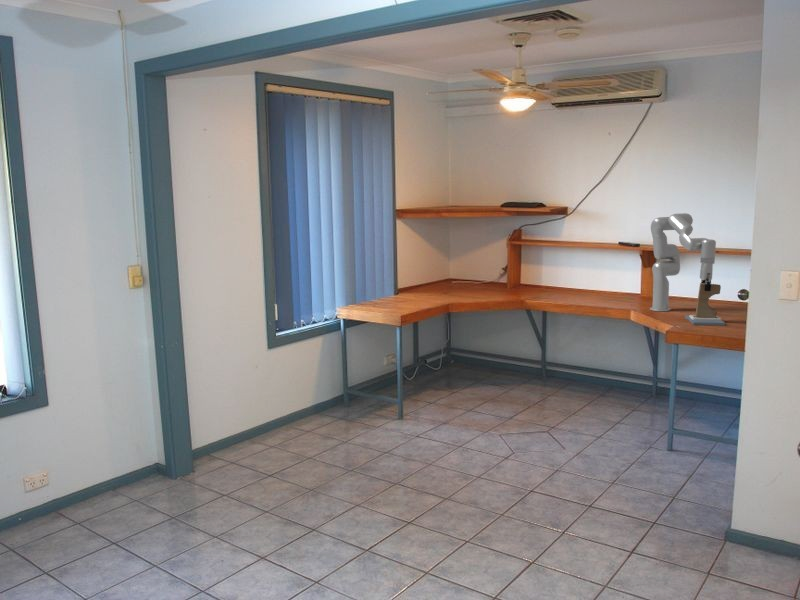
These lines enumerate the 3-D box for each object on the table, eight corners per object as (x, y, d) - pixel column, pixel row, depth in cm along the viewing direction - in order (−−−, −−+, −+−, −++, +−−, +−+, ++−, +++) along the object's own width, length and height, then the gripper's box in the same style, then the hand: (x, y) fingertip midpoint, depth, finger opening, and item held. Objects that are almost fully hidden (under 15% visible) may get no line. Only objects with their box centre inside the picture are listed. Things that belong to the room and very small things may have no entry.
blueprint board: (684, 317, 414) (684, 313, 414) (714, 317, 411) (714, 313, 411) (693, 324, 391) (693, 320, 391) (725, 325, 388) (725, 321, 387)
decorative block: (715, 317, 402) (720, 284, 398) (715, 319, 397) (721, 286, 393) (695, 315, 406) (700, 282, 403) (695, 317, 401) (700, 283, 397)
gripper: (697, 258, 406) (695, 287, 409) (704, 262, 389) (702, 291, 392) (710, 258, 404) (708, 287, 407) (718, 262, 387) (716, 292, 391)
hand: (705, 289), depth 400 cm, fingers open, 9 cm apart
